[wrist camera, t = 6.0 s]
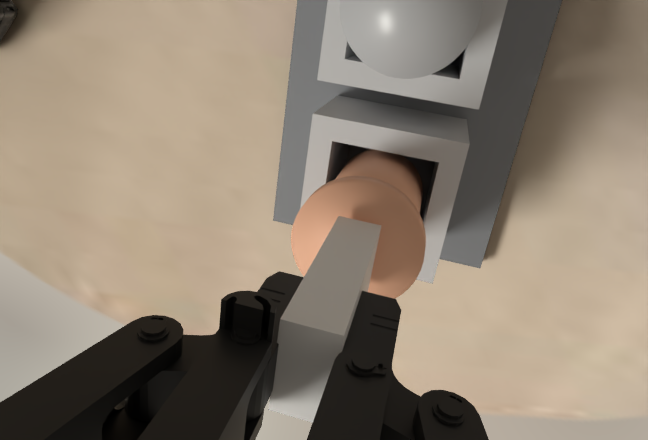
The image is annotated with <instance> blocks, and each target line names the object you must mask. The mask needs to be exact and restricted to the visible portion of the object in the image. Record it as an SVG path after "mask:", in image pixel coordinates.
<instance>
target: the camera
mask: <svg viewBox="0 0 648 440" xmlns="http://www.w3.org/2000/svg"><path fill="white" fill-rule="evenodd" d="M17 12H18V8H17V7H16V5H15V4H14V3H13V2H12V1H11V0H0V41H1V39H2V38H3V36H4V35H5V33H6V32H7V30H8V29H9V28H10V26H11V24H12V22H13V20H14V19H15V17H16V16H17Z"/></svg>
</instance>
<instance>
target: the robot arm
mask: <svg viewBox="0 0 648 440" xmlns="http://www.w3.org/2000/svg"><path fill="white" fill-rule="evenodd" d="M380 230H381V225H377V224H373V223H368V222H364V221H360V220H355V219H351V218H346V217H342V216H338V218H337V220H336V222H335V223H334V225H333V227H332V229H331V230H330V232H329V234H328V236H327V237H326V239H325V241H324V243H323V244H322V246H321V248H320V250H319V252H318V253H317V255H316V257H315V259H314V260H313V262H312V264H311V266H310V267H309V269H308V271H307V273H306V274H305V276H304V277H300V276H296V275H292V274H288V273H284V272H280V271H279V272H277V273H276V274H274V275H272V276H270V277H268V278H267V279H266V280H265V282H264V283H263V284H262V286H261V288H260V289H259V290H258V292H253V291H238V292H234V293H231V294H228V295H227V296H225V297H224V298H223V299H221V313H220V327H219V330H218V331H217V332H216V334H214V335H203V336H199V335H183V328H182V326H181V324H180V323H179V322H177V321H176V320H175V319H173V318H170V317H166V316H158V315H152V316H146V317H141V318H139V319H137V320H134V321H132V322H131V323H129V324H127V325H126V326H124V327H122V328H121V329H119V330H118V331H116V332H114V333H113V334H111V335H109V336H108V337H106V338H105V339H103V340H102V341H100V342H98V343H96V344H95V345H93V346H92V347H90V348H88V349H87V350H85V351H83V352H82V353H80V354H78V355H77V356H75V357H74V358H72V359H70V360H69V361H67V362H66V363H64V364H62V365H61V366H59V367H58V368H56V369H54V370H52V371H51V372H49V373H48V374H46V375H44V376H43V377H41V378H39V379H38V380H36V381H35V382H33V383H32V384H30V385H28V386H26V387H25V388H23V389H22V390H20V391H18V392H17V393H15V394H13V395H12V396H10V397H9V398H7V399H5V400H4V401H2V402H0V440H255V439H256V436H257V434H258V432H259V430H260V428H261V425H262V420H263V413H264V408H265V406H266V404H267V401H268V399H269V397H270V403H269V410H271V411H275V412H278V413H281V414H284V415H288V416H291V417H295V418H298V419H302V420H305V421H309V422H312V423H313V424H312V427H311V430H310V432H309V435H308V438H307V440H489V439H488V437H487V434H486V431H485V429H484V426H483V423H482V421H481V418H480V415H479V414H478V412H477V411H476V409H475V407H474V406H473V405H472V404H471V403H469V402H468V401H467V400H466V399H465V398H463V397H461V396H459V395H457V394H455V393H453V392H448V391H444V390H431V391H429V392H427V393H424V394H423V395H422V396H421V397H420V396H419V395H417V394H415V393H413V392H411V391H410V390H408V389H407V388H405V387H404V386H403V385H402V384H401V383H400V382H398V380H397V379H396V377H395V376H394V374H393V371H392V359H393V354H394V348H395V342H396V337H397V331H398V325H399V319H400V314H401V309H400V307H399V305H398V303H397V301H396V299H394V298H390V297H386V296H382V295H378V294H374V293H370V292H368V288H369V284H370V279H371V274H372V269H373V264H374V259H375V254H376V250H377V245H378V240H379V235H380Z"/></svg>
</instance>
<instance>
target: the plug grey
mask: <svg viewBox="0 0 648 440" xmlns="http://www.w3.org/2000/svg"><path fill="white" fill-rule="evenodd" d="M482 4H483V0H340V19H341V25H342V28H343V32H344V35H345V37H346V39H347V42H348V43H349V45H350V47H351V49H352V50H353V51H354V53H355V54H356V55H357V57H358V58H359V59H360V60H361V61H362V62H363V63H365V64H366V65H367V66H368V67H370V68H371V69H373V70H375V71H377V72H378V73H381V74H383V75H386V76H389V77H393V78H400V79H413V78H420V77H424V76H427V75H431V74H433V73H435V72H437V71H439V70H441V69H443V68H444V67H446V66H448V65H449V64H450V63H451V62H453V61H454V60H455V59H456V58H457V57H458V56H459V55H460V54H461V53H462V52H463V51H464V49H465V48H466V47H467V45H468V44H469V42H470V41H471V39H472V37H473V35H474V33H475V31H476V29H477V26H478V23H479V20H480V17H481V11H482Z"/></svg>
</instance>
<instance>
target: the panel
mask: <svg viewBox="0 0 648 440" xmlns="http://www.w3.org/2000/svg"><path fill="white" fill-rule="evenodd" d="M561 2H562V0H483V4H482V11H481V17H480V20H479V23H478V26H477V29H476V31H475V33H474V35H473V37H472V39H471V41H470V42H469V44H468V45H467V47H466V48H465V49H464V51H463V52H462V53H461V54H460V55H459V56H458V57H457V58H456V59H455V60H454V61H453V62H451V63H450V64H449V65H448V66H446V67H444V68H443V69H441V70H439V71H437V72H435V73H433V74H431V75H427V76H424V77H420V78H413V79H400V78H393V77H389V76H386V75H383V74H381V73H378V72H377V71H375V70H373V69H371V68H370V67H368V66H367V65H366V64H365V63H363V62H362V61H361V60H360V59H359V58H358V57H357V55H356V54H355V53H354V51H353V50H352V49H351V47H350V45H349V43H348V42H347V39H346V37H345V35H344V32H343V28H342V25H341V19H340V0H297V9H296V18H295V27H294V36H293V45H292V54H291V63H290V72H289V81H288V91H287V100H286V109H285V118H284V127H283V136H282V145H281V154H280V163H279V172H278V182H277V191H276V200H275V209H274V218H273V221H278V222H282V223H286V224H291V225H293V224H294V221H295V218H296V216H297V214H298V212H299V210H300V209H301V207H302V206H303V205H304V203H305V202H306V201H307V200H308V198H309V197H310V196H311V195H312V194H313V193H314V192H315V191H316V190H317V189H318V188H320V187H321V186H322V185H324V184H326V183H328V182H330V181H332V180H335V179H336V177H337V176H338V174H339V173H340V172H341V170H342V169H343V167H344V166H345V165H346V163H347V162H348V161H349V160H350V159H351V158H353V157H354V156H356V155H357V154H359V153H361V152H364V151H367V150H371V149H374V150H379V151H384V152H389V153H394V154H399V155H402V156H404V157H405V158H406V159H408V160H409V161H410V162H411V163H412V164H413V165H414V167H415V168H416V169H417V171H418V173H419V175H420V178H421V181H422V185H423V197H422V203H421V209H420V216H421V218H422V220H423V224H424V227H425V233H426V248H425V256H424V262H423V265H422V268H421V271H420V273H419V275H418V277H417V279H416V280H420V281H424V282H428V283H432V284H433V280H434V277H435V273H436V269H437V265H438V262H439V259H442V260H446V261H451V262H455V263H459V264H464V265H468V266H472V267H477V268H480V267H481V264H482V261H483V257H484V254H485V251H486V248H487V244H488V241H489V238H490V235H491V231H492V228H493V225H494V221H495V218H496V215H497V212H498V208H499V205H500V202H501V199H502V195H503V192H504V189H505V185H506V182H507V179H508V176H509V172H510V169H511V166H512V163H513V159H514V156H515V153H516V149H517V146H518V143H519V140H520V136H521V133H522V130H523V127H524V123H525V120H526V117H527V114H528V110H529V107H530V104H531V100H532V97H533V94H534V91H535V87H536V84H537V81H538V78H539V74H540V71H541V68H542V64H543V61H544V58H545V55H546V51H547V48H548V45H549V42H550V38H551V35H552V32H553V28H554V25H555V22H556V19H557V15H558V12H559V9H560V6H561Z"/></svg>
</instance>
